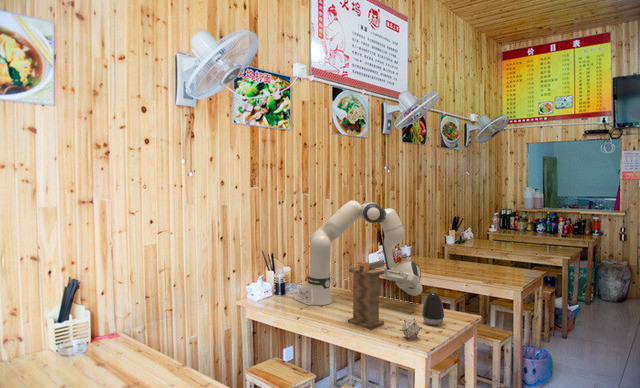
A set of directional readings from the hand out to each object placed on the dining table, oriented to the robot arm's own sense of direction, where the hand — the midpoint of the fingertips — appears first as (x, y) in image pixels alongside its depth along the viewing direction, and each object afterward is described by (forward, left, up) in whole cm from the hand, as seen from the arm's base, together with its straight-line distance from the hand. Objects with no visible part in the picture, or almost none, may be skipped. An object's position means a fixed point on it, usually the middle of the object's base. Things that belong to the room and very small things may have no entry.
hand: (392, 271), depth 222 cm
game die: (+25, -23, -22) cm, 41 cm away
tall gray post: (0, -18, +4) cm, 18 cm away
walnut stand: (0, -22, -22) cm, 31 cm away
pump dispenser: (+23, +1, -22) cm, 32 cm away
